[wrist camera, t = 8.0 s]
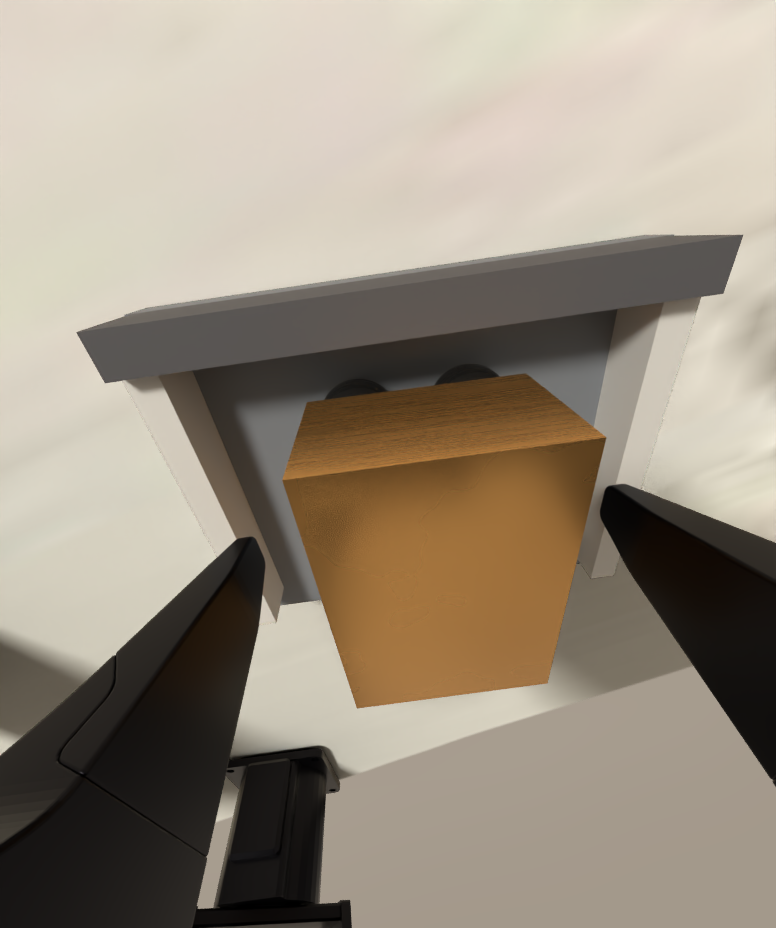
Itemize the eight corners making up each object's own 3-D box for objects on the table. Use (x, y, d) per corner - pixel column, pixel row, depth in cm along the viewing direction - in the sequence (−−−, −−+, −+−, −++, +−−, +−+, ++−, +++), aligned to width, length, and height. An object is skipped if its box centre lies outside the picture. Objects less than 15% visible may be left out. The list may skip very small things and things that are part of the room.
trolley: (486, 541, 13) (547, 683, 9) (357, 558, 13) (357, 708, 9) (496, 349, 10) (606, 437, 5) (316, 373, 10) (282, 480, 5)
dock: (577, 543, 15) (621, 605, 13) (271, 586, 15) (253, 656, 13) (645, 235, 9) (754, 233, 7) (145, 308, 9) (65, 333, 7)
